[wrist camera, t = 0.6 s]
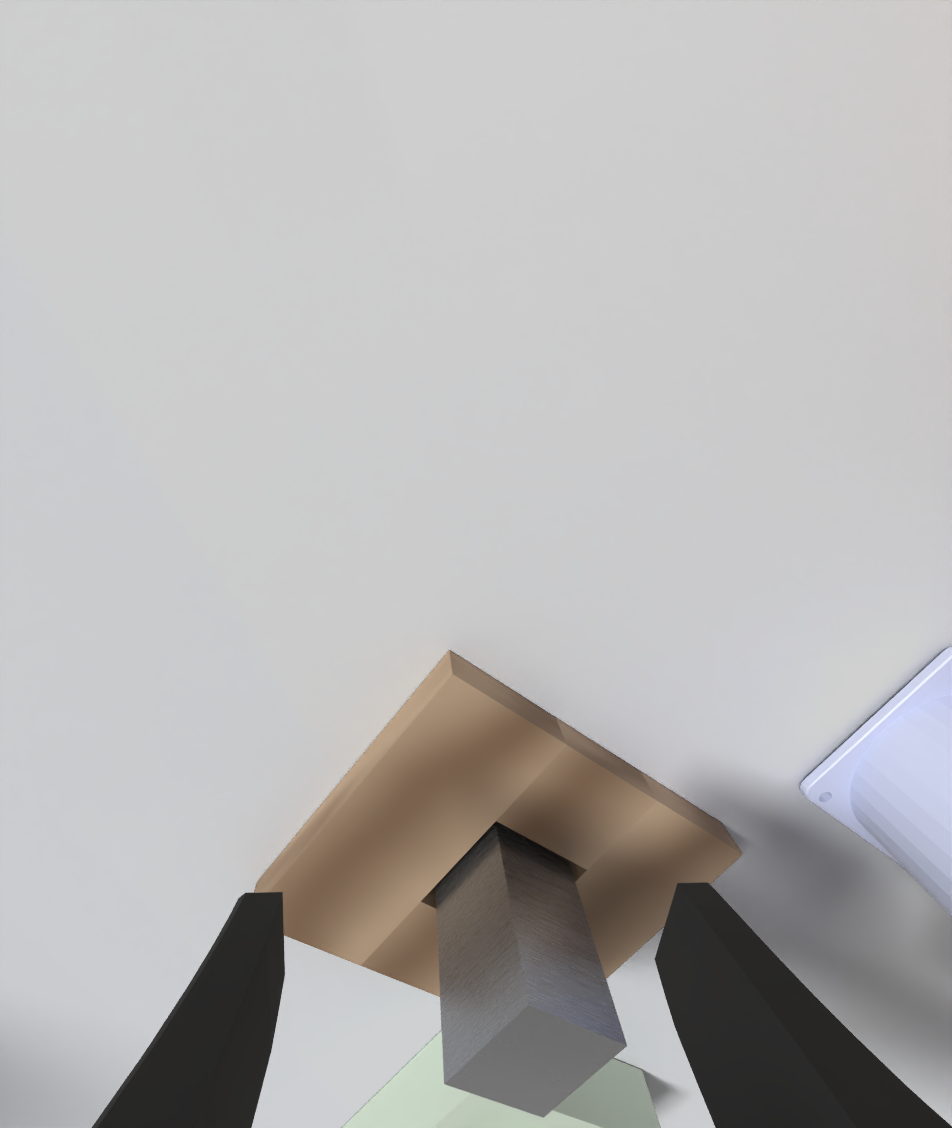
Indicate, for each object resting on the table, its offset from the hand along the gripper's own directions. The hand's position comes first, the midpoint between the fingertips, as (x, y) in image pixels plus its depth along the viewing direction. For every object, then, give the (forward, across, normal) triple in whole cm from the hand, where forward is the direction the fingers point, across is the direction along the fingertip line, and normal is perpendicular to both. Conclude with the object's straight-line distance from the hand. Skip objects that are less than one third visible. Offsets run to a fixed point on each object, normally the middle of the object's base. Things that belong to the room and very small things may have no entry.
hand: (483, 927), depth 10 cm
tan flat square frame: (+9, -2, +8) cm, 12 cm away
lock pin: (+9, -2, +8) cm, 12 cm away
